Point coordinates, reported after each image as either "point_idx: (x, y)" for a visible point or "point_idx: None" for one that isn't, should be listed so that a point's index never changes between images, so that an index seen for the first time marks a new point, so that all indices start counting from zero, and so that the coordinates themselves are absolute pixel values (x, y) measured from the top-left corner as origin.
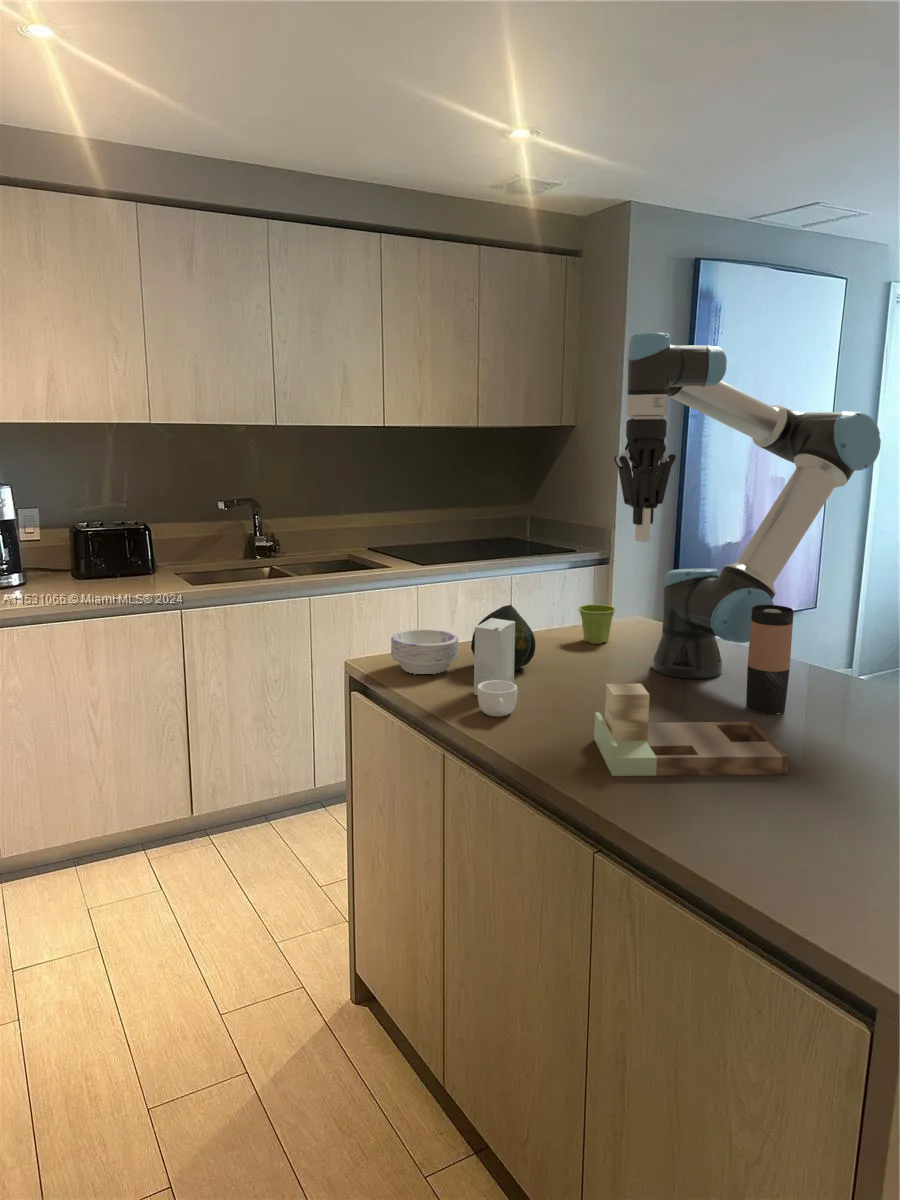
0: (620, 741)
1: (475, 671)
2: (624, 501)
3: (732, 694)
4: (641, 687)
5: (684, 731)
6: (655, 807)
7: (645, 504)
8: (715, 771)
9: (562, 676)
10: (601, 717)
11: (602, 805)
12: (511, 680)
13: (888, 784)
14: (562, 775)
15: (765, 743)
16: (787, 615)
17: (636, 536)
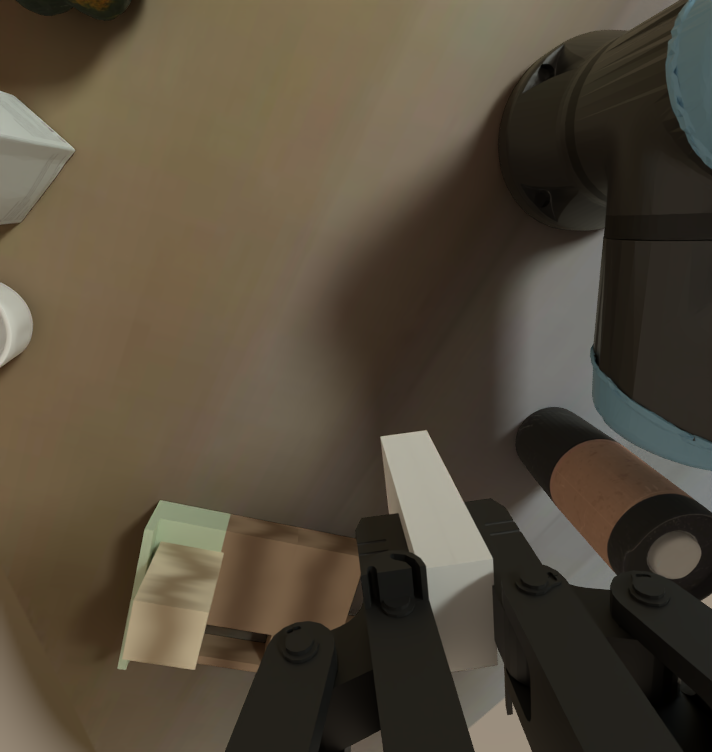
0: None
1: None
2: (264, 661)
3: (551, 347)
4: (198, 633)
5: (292, 584)
6: (154, 715)
7: (501, 624)
8: None
9: (241, 85)
10: (147, 554)
11: (86, 700)
12: (55, 160)
13: (483, 713)
14: (57, 613)
15: None
16: None
17: (384, 461)
